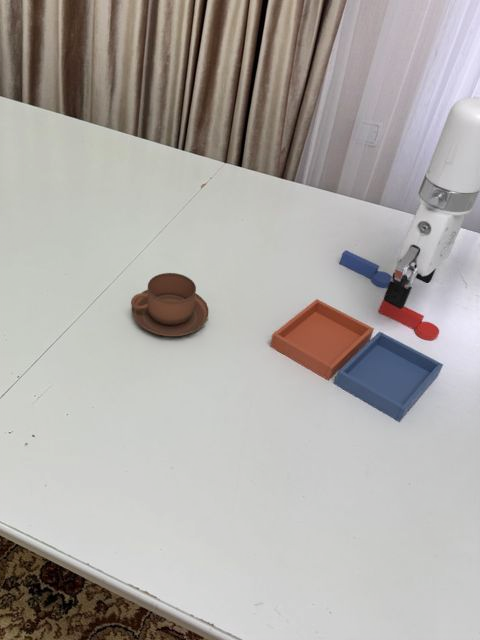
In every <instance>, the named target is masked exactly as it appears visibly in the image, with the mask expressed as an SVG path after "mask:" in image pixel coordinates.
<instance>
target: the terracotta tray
mask: <svg viewBox="0 0 480 640" xmlns="http://www.w3.org/2000/svg"><path fill="white" fill-rule="evenodd" d="M374 330H375V328H374V327H371V326H370V325H368V324H367V323H364V322H363V321H360V320H358V319H357V318H354V317H352V316H351V315H348V314H347V313H344V312H342V311H341V310H339V309H338V308H335V307H333V306H331V305H329V304H327V303H326V302H323V301H321V300H320V299H318V298H316V299H315V300H314V301H312V302H311V303H310V304H308V305H307V306H306V307H305V308H304V309H302V310H301V311H300V312H298V313H297V314H295V315H294V317H292V318H291V319H290V320H289V321H287V322H286V323H285V324H283V325H282V326H281V327H279V328H278V329H277V330H276V331H275V332H274V333H272V335H271V340H270V344H269V347H270V348H272V349H273V350H275V351H277V352H279V353H281V354H282V355H283V356H285V357H287V358H289V359H290V360H292V361H294V362H296V363H297V364H299V365H301V366H302V367H305V368H306V369H308V370H309V371H311V372H313V373H315V374H316V375H318V376H319V377H322V378H324V379H325V380H327V381H330V380H331V379H332V378H333V377H334V376H335V375H337V373H338V371H339V370H340V369H341V368H342V367H343V366H344V365H345V364H346V363H347V362H348V361H349V360H350V359H351V358H353V357H354V356H355V355H356V354H357V353H358V352H359V351H360V350H361V349H362V348H363V347H364V346H365V345H366V344H367V343H368V342H369V341H370V340H371V339H372V336H373V333H374Z"/></svg>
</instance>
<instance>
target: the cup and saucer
mask: <svg viewBox="0 0 480 640" xmlns="http://www.w3.org/2000/svg"><path fill="white" fill-rule="evenodd" d="M196 291H197V286H196V283H195V282H194V280H193V279H191V278H190V277H188V276H187V275H184V274H181V273H176V272H165V273H159V274H157V275H155V276H153V277H152V278H150V279H149V281H148V282H147V289H145V290H144V291H142V292H140V293H137V294H134V295H133V297H132V298H131V300H130V305H131V313H132V316H133V318H134V320H135V322H136V323H137V324H138V325H139V326H140V327H141V328H143V329H145V330H146V331H148V332H150V333H153V334H155V335H159V336H164V337H180V336H185V335H188V334H189V335H190V334H191V333H194V332H196V331H198V330H199V329H201V328H202V327H203V326H204V324H205V323H206V322H207V320H208V317H209V313H210V312H209V306H208V304H207V303H206V301H205V299H203V298H202V297H201V296H200V295H199V294H197V292H196Z"/></svg>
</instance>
